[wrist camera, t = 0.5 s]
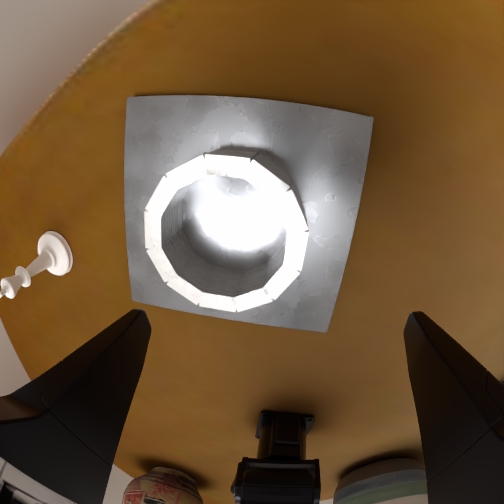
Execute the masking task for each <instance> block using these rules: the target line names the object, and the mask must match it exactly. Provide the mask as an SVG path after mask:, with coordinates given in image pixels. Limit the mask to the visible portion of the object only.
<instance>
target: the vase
mask: <svg viewBox="0 0 504 504" xmlns="http://www.w3.org/2000/svg"><path fill="white" fill-rule="evenodd" d="M426 482H427V481H426V472H425V467H424V466H423V465H422V464H421V463H420V462H418V461H417V460H414V459H409V458H395V459H388V460H382V461H378V462H375V463H371V464H368V465H365V466H363V467H360V468H358V469H356V470H354V471H352V472H350V473H349V474H347V475H346V476H345V477H344V478H343V479H342V480H341V481H340V482H339V484H338V486H337V488H336V490H335V493H334V499H333V500H334V501H333V504H428V495H427V483H426Z"/></svg>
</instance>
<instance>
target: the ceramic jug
mask: <svg viewBox="0 0 504 504" xmlns="http://www.w3.org/2000/svg"><path fill="white" fill-rule="evenodd" d="M122 504H203V501H202V498H201V496H200V494H199V492H198V490H197V488H196V480H195V478H192V477H190V476H189V475H187V474H185V473H183V472H180V471H178V470H175V469H171V468H165V467H154V468H153V469H152V470H151V471H150V472H149V473H147V474H145V475H142V476H140V477H137V478H135V479H134V480H132V481H131V482H130V483H129V484H128V486H127V488H126V490H125V492H124V496H123V501H122Z"/></svg>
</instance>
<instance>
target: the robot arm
mask: <svg viewBox="0 0 504 504" xmlns="http://www.w3.org/2000/svg"><path fill="white" fill-rule="evenodd" d="M150 335H151V325H150V322H149V320H148V317H147V315H146V312H145V311H144V310H142V309H133V310H131V311H130V312H128V313H127V314H125V315H124V316H122V317H121V318H120V319H118V320H117V321H115V322H114V323H113V324H111V325H110V326H108V327H107V328H106V329H104V330H103V331H102V332H100V333H99V334H97V335H96V336H95V337H93V338H92V339H90V340H89V341H88V342H86V343H85V344H84V345H82V346H81V347H79V348H78V349H77V350H75V351H74V352H73V353H71V354H70V355H68V356H67V357H66V358H64V359H63V361H60V362H59V363H57V364H56V365H55V366H53V367H52V368H50V369H49V370H48V371H46V372H45V373H43V374H42V375H40V376H39V377H37V378H36V379H34V380H32V381H31V382H29V383H28V384H26V385H24V386H23V387H21V388H19V389H18V390H16V391H15V392H13V393H11V394H9V395H6V396H2V397H0V504H75V503H77V504H102V503H103V499H104V495H105V491H106V487H107V484H108V480H109V476H110V472H111V469H112V465H113V461H114V457H115V454H116V450H117V447H118V444H119V440H120V437H121V434H122V430H123V427H124V424H125V421H126V417H127V414H128V411H129V408H130V405H131V402H132V399H133V396H134V393H135V390H136V387H137V384H138V381H139V378H140V375H141V372H142V369H143V365H144V361H145V357H146V352H147V348H148V344H149V339H150ZM404 341H405V348H406V355H407V363H408V371H409V377H410V382H411V387H412V391H413V396H414V401H415V406H416V411H417V417H418V423H419V428H420V435H421V441H422V448H423V455H424V463H425V472H426V481H427V482H426V483H427V495H428V504H504V385H503V384H502V383H501V382H500V381H498V380H497V379H496V378H495V377H494V376H493V375H492V374H491V373H490V372H489V371H487V369H486V368H485V367H484V366H483V365H481V364H480V363H479V362H478V361H477V360H476V359H475V358H474V357H473V356H472V355H471V354H470V353H469V352H467V351H466V350H465V349H464V348H463V347H462V346H461V345H460V344H459V343H458V342H456V341H455V340H454V339H453V338H452V337H451V336H450V335H449V334H447V333H446V332H445V331H444V330H443V329H442V328H441V327H440V326H438V325H437V324H436V323H435V322H434V321H433V320H431V319H430V318H429V317H428V316H427V315H426V314H424V313H423V312H421V311H417V312H411V313H410V314H409V317H408V320H407V323H406V326H405V329H404ZM313 421H314V416H312V415H301V414H290V413H281V412H272V411H261V413H260V418H259V422H258V427H257V431H256V436H255V437H256V438H257V439H259V445H258V453H257V459H255V458H248V457H243V459H242V462H240V463H238V469H237V473H236V476H235V479H234V481H233V483H232V486H231V492H232V493H233V494H234V498H235V503H236V504H319V501H320V491H321V482H320V467H319V459H314V460H306V436H307V434H308V432H309V430H310V428H311V426H312V423H313Z"/></svg>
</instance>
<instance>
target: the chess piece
mask: <svg viewBox="0 0 504 504" xmlns="http://www.w3.org/2000/svg"><path fill="white" fill-rule="evenodd" d="M38 253H39V256H38V257H37V258H36V259H35V260H34V261H33V262H32V263H31V264H30V265H29V266H28V267H27V268H26V269H25V268H23V267H22V266H18V267H17V269H16V271H15V274H16V275H15V276H11V277H6V278H3V279H2V280H1V288H2V291H0V298H1V297H2V296H3V295H6V296H7V297H8V298H11V299H12V298H14V297H15V295H16V294H17V291H18V290H19V288H20V287H21V285H22V286H24V287H28V286H30V284H31V279H30V277H32V276H34V275H35V274H37V273H39V272H41V271H43V270H45V269H47V270H48V271H50V272H51V273H53V274H55V275H64V274H65V273H67V272H69V271H70V269H71V268H72V264H73V257H72V252H71V249H70V247H69V245H68V243H67V241H66V240H65V239H64V238H63V237H62V236H61V235H60V234H59V233H57V232H54V231H48V232H46V233H45V234H44V235H42V236H41V238H40V239H39V242H38Z"/></svg>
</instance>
